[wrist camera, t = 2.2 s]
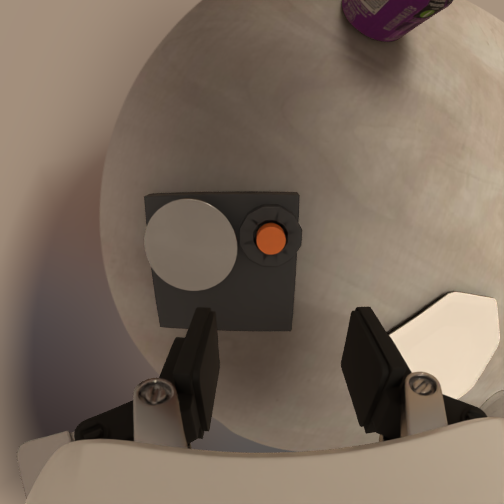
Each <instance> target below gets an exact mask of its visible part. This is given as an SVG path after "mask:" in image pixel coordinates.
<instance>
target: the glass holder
mask: <svg viewBox="0 0 504 504" xmlns="http://www.w3.org/2000/svg"><path fill="white" fill-rule="evenodd" d="M480 409H481V410H482V411H484V412H485V414H486V415H487V417H501V418H504V390H502V391H499V392H497V393H496V394H494V395H493V396H491V397H490V398H489V399H488V400H487V401H486V402H485V403H484V404H483V405H482V406H481V407H480Z"/></svg>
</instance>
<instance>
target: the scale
mask: <svg viewBox="0 0 504 504" xmlns="http://www.w3.org/2000/svg"><path fill="white" fill-rule="evenodd" d="M185 198H193V199H199V200H202V201H206V202H208V203H210V204H212V205H214V206H215V207H217V208H218V209H219V210H220V211H222V212H223V213H224V214H225V216H226V217H227V218H228V219H229V221H230V222H231V224H232V226H233V228H234V230H235V233H236V237H237V244H238V251H237V257H236V261H235V264H234V266H233V268H232V270H231V272H230V273H229V274H228V276H227V277H226V278H225V279H224V280H223V281H221V282H220V283H219V284H217V285H215V286H213V287H211V288H208V289H205V290H200V291H188V290H183V289H179V288H176V287H174V286H172V285H170V284H168V283H167V282H165V281H164V280H163V279H161V278H160V277H159V276H158V275H157V274H156V273H155V271H154V270H153V269H152V267H151V270H152V277H153V284H154V291H155V298H156V304H157V310H158V316H159V322H160V327H168V328H183V329H189V326H190V323H191V321H192V318H193V315H194V313H195V310H196V308H197V307H208V308H211V311H216V320H217V330H226V331H291V330H292V318H293V305H294V291H295V276H296V260H297V251H298V250H299V248H300V247H301V241H302V229H301V227H300V225H299V223H298V219H299V194H298V193H297V192H182V193H156V194H149V195H146V196H144V199H145V212H146V224H147V225H148V223H149V221H150V219H151V217H152V216H153V215H154V213H155V212H156V211H157V210H158V209H160V208H161V207H162V206H164V205H166V204H167V203H169V202H172V201H174V200H178V199H185ZM267 223H275V224H277V225H279V226H280V227H281V228H282V229H283V231H284V234H285V238H286V243H285V246H284V248H283V249H282V250H281V251H280V252H279V253H277V254H272V255H270V254H265V253H263V252H262V251H261V250H260V249H259V248H258V246H257V241H256V239H257V232H258V230H259V228H260V227H261V226H263V225H264V224H267Z"/></svg>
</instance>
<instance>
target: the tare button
mask: <svg viewBox="0 0 504 504" xmlns="http://www.w3.org/2000/svg"><path fill="white" fill-rule="evenodd" d="M256 241H257V246H258V248H259V249H260V250H261V251H262V252H263V253H265V254H270V255H272V254H277V253H279V252H280V251H281V250H282V249H283V248H284V246H285V243H286V238H285V234H284V231H283V229H282V228H281V227H280V226H279V225H277V224H275V223H267V224H264V225H263V226H261V227H260V228H259V230H258V232H257V239H256Z"/></svg>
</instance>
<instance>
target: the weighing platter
mask: <svg viewBox="0 0 504 504" xmlns="http://www.w3.org/2000/svg"><path fill="white" fill-rule="evenodd" d="M144 248H145V253H146V256H147V259H148V262H149V264H150V265H151V267H152V269H153V270H154V271H155V273H156V274H157V275H158V276H159V277H160V278H161V279H163V280H164V281H165V282H167V283H168V284H170V285H172V286H174V287H176V288H179V289H183V290H188V291H200V290H205V289H208V288H211V287H213V286H215V285H217V284H219V283H220V282H221V281H223V280H224V279H225V278H226V277H227V276H228V274H229V273H230V272H231V270H232V268H233V266H234V264H235V261H236V257H237V251H238V244H237V237H236V233H235V230H234V228H233V226H232V224H231V222H230V221H229V219H228V218H227V217H226V216H225V214H224V213H223V212H222V211H220V210H219V209H218V208H217V207H215V206H214V205H212V204H210V203H208V202H206V201H202V200H199V199H193V198H185V199H178V200H174V201H172V202H169V203H167V204H166V205H164V206H162V207H161V208H160V209H158V210H157V211H156V212H155V213H154V215H153V216H152V217H151V219H150V221H149V223H148V225H147V227H146V231H145V235H144Z"/></svg>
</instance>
